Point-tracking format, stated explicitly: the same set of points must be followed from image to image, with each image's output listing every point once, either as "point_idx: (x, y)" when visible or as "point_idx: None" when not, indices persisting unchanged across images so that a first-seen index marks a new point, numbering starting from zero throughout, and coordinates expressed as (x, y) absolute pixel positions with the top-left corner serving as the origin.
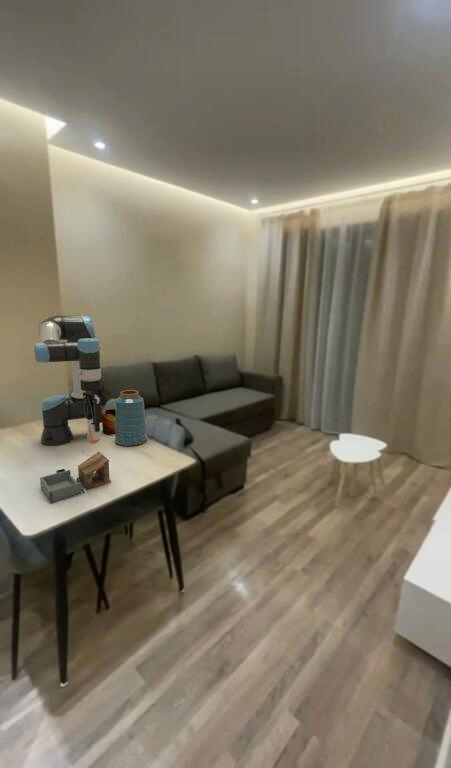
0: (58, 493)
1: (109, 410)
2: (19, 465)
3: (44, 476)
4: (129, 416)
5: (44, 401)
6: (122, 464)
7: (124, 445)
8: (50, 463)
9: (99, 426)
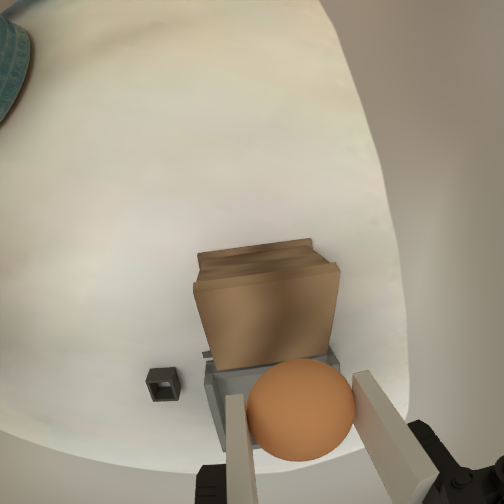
0: None
1: None
2: (57, 434)
3: (221, 444)
4: None
5: None
6: (163, 148)
7: (8, 110)
8: (57, 380)
9: (446, 450)
